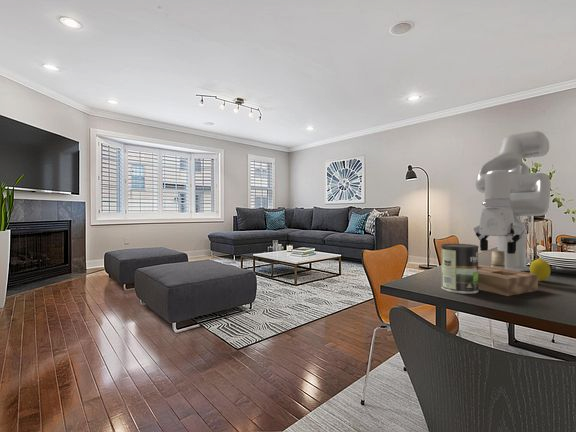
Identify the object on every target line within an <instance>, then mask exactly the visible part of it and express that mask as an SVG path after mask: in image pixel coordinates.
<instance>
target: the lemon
mask: <svg viewBox="0 0 576 432" xmlns="http://www.w3.org/2000/svg"><path fill="white" fill-rule="evenodd" d="M529 267H530V271H529V273H532V274H538V282H542V281H544V280H547V279H548V278H549V277H550V275H551V271H552V270H551V267H550V264H549V262H548V261H546V260H544V259H542V258H541V257H538V258H537V259H534V260H532V261H531V263H530V265H529Z"/></svg>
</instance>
